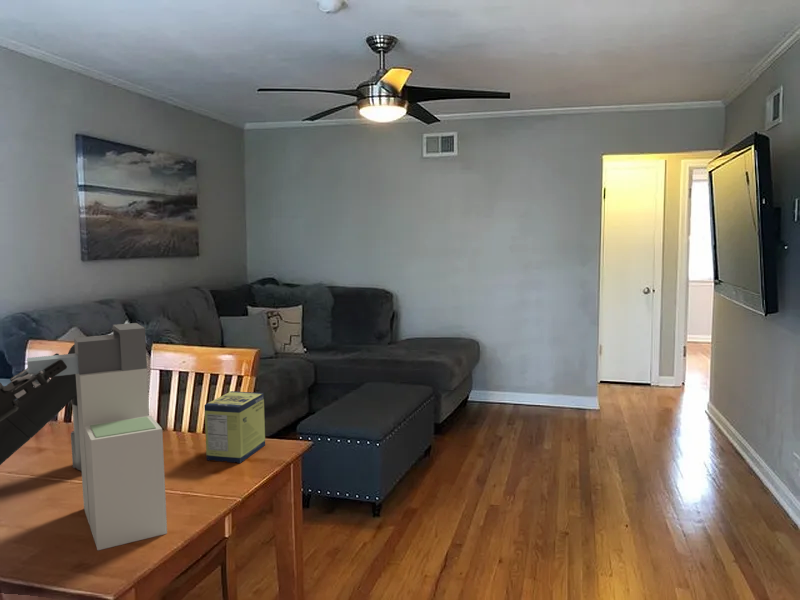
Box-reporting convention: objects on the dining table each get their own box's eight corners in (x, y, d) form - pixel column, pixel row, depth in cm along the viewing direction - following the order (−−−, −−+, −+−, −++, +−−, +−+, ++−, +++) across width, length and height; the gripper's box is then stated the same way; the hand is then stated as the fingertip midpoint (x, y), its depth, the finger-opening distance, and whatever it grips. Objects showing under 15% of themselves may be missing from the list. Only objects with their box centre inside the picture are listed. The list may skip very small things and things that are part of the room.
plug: (29, 380, 129) (27, 346, 128) (27, 374, 135) (25, 341, 134) (130, 369, 139) (129, 337, 138) (125, 363, 145) (123, 333, 144)
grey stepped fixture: (97, 550, 125) (85, 342, 120) (83, 508, 144) (72, 327, 139) (167, 533, 132) (157, 336, 127) (145, 495, 151) (136, 322, 146)
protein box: (266, 444, 186) (264, 392, 185) (241, 463, 171) (239, 406, 169) (233, 442, 189) (231, 390, 187) (205, 461, 173) (203, 404, 172)
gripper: (-3, 414, 135) (70, 368, 142) (-3, 432, 123) (77, 380, 130) (-27, 386, 133) (49, 340, 139) (-29, 401, 121) (54, 350, 127)
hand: (62, 359), depth 135 cm, fingers open, 7 cm apart
